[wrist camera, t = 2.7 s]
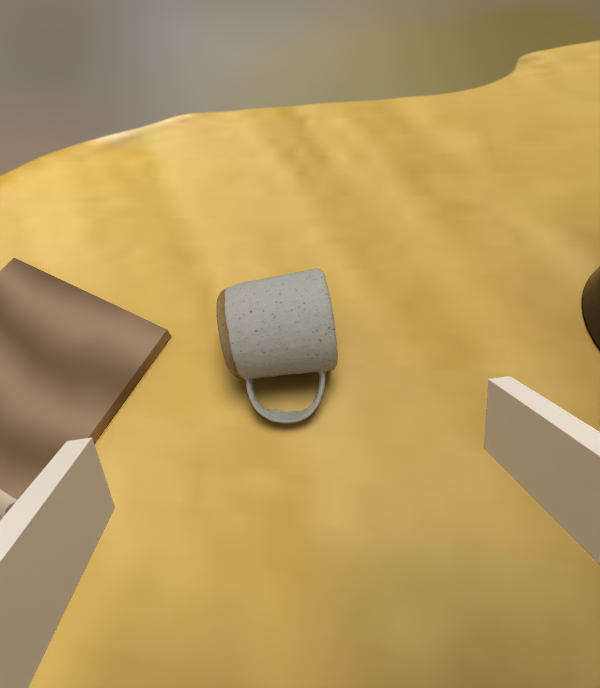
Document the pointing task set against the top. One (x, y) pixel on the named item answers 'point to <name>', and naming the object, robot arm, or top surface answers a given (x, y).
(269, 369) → the ceramic mug
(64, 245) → the top surface
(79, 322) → the board
